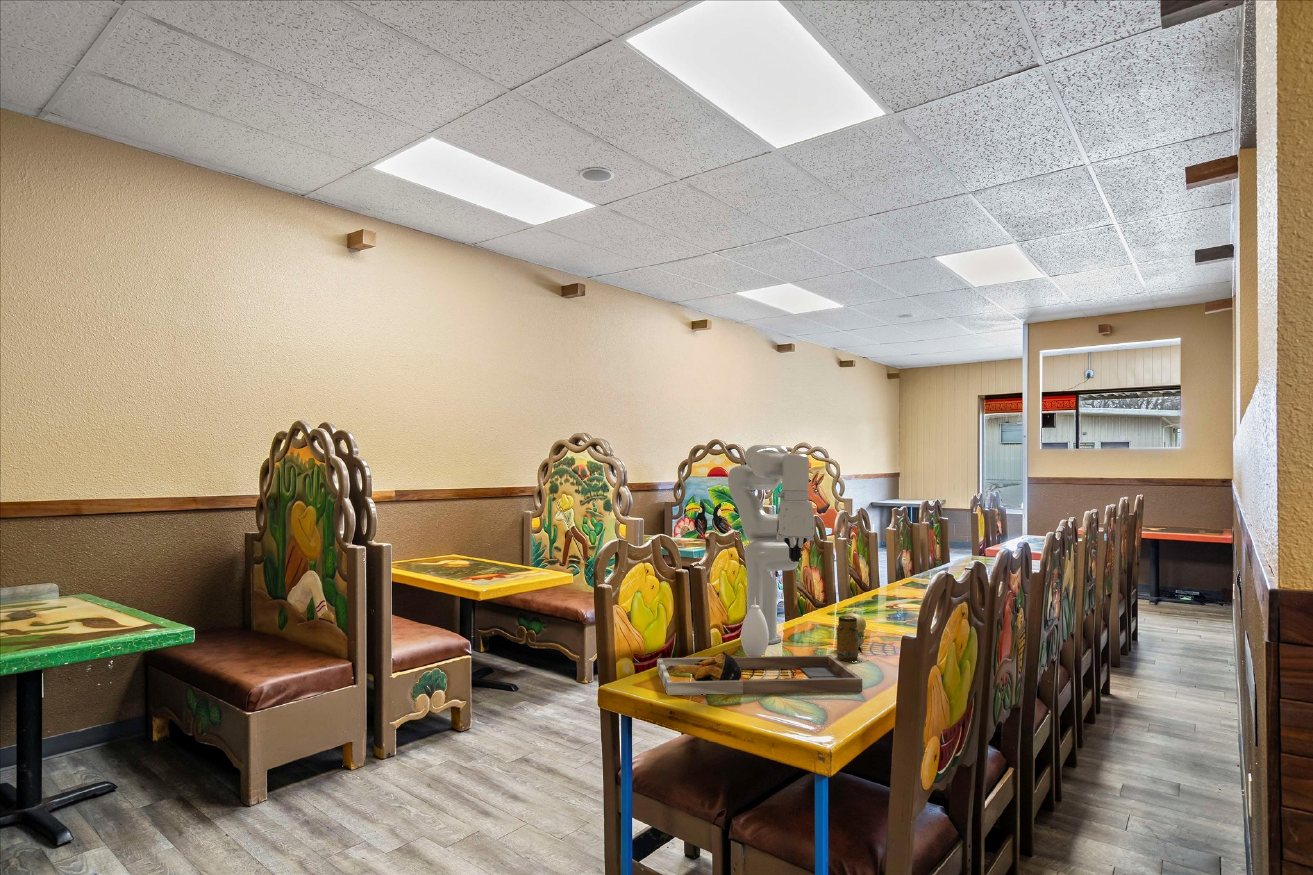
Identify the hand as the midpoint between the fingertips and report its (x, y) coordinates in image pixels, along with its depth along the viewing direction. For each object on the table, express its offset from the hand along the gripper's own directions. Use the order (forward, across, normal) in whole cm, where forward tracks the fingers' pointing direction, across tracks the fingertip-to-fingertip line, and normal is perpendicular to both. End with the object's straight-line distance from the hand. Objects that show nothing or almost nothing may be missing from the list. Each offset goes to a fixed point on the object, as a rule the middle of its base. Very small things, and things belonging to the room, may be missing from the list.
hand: (794, 561), depth 206 cm
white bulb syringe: (+29, -10, +6) cm, 32 cm away
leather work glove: (+29, -29, -16) cm, 44 cm away
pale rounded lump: (+29, +24, +16) cm, 41 cm away
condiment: (+29, +18, +4) cm, 35 cm away
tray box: (+29, -15, -14) cm, 36 cm away
